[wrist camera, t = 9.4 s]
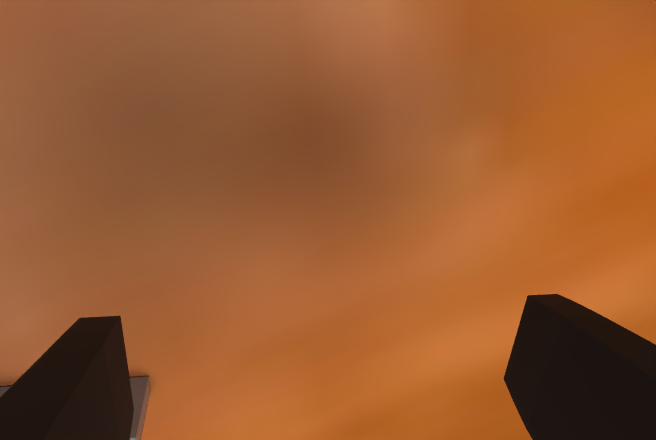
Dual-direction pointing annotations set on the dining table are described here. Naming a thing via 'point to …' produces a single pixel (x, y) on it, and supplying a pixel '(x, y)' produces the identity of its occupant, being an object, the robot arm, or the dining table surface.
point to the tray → (140, 402)
